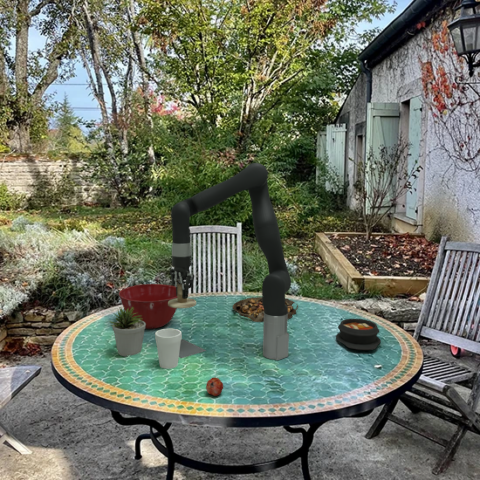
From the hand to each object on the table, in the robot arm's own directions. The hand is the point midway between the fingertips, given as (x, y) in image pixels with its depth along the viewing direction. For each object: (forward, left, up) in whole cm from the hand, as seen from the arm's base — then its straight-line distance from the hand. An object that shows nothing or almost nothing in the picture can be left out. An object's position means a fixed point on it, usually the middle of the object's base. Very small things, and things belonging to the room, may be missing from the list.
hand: (182, 297), depth 188 cm
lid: (0, 0, -3) cm, 3 cm away
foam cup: (-10, +13, -22) cm, 27 cm away
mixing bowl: (+35, -7, -22) cm, 42 cm away
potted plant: (+11, +18, -22) cm, 31 cm away
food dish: (+15, -62, -23) cm, 68 cm away
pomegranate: (-37, +13, -22) cm, 45 cm away
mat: (0, 0, -22) cm, 22 cm away
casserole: (-40, -62, -22) cm, 77 cm away
